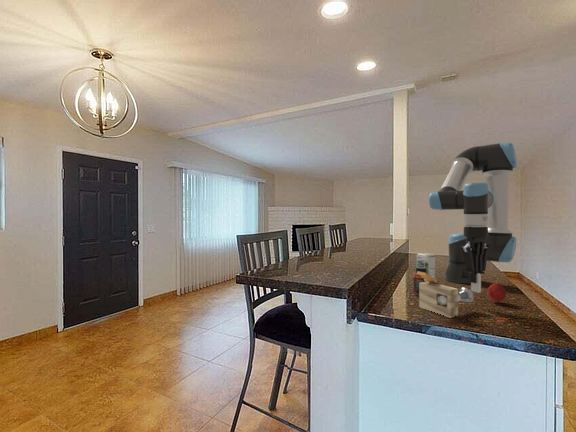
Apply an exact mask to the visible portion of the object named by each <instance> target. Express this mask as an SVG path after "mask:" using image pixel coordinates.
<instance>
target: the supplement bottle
mask: <svg viewBox="0 0 576 432" xmlns="http://www.w3.org/2000/svg"><path fill="white" fill-rule="evenodd" d="M417 271H419V272H424V273H427V272H426V267H417V266H415V271H414V272H413V274H412V276H413V278H412V280H413V281H412V282H413V283H412V284H413V285H412V287H413V288H412V289H413V291H412V292H413V295H415V296H418V297H419V283H421V282H426V281H427V282H429V281H428V280H426V279H424V278H423V277H421V276H420V275H418V274H417ZM427 274H428V273H427ZM428 275H429V274H428Z"/></svg>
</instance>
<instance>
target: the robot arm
mask: <svg viewBox="0 0 576 432" xmlns="http://www.w3.org/2000/svg"><path fill="white" fill-rule="evenodd" d="M517 166H518V162H517V155H516V150H515V147H514V144H513V143H512V142H499V143H493V144H486V145H479V146H478V145H477V146H473V147H470V148H467V149H465V150H462V152H460V153H458V154H457V155H456V156H455V157H454V158H453V160H452V161H451V163H450V169H449V173H447V176H446V178H445V179H444V181H443V183H442V185H441V187H440V189H439V190H438V191H432V192H430V194H429V196H428V204H429V208H431V210H434V211H435V210H437V211H444V210H446V211H447V210H448V211H449V210H463V219H462V221H463V225H464V226H463V232H460V233H452V234H450V235H449V236H448V265H447V268H446V271H445V273H444V279H445V280H446V281H448V282H452V283H454V284H455V283H457V284H462V285H463V284H466V285H469V284H470V290H471V291H472V292H473V293H478V294H479V293H482V275H484V274H485V272H486V269H487V262H492V263H493V262H494V263H495V262H496V263H500V264H501V263H511V262H512V261H513V259H514V256H515V252H516V247H517V237H516V236H514V235H513V232H512V231H511V230H510V229H509V176H511V174H513V173H514V171H513V169H516V168H517ZM480 171H481V173H482V175H483V176H484V177H485V182H469V183H465V182H466V181H467V180H466V179H467V177H468V176H469V175H470V174H471V173H472V172H480ZM462 189H463V190H462Z"/></svg>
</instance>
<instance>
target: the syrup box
mask: <svg viewBox="0 0 576 432" xmlns="http://www.w3.org/2000/svg"><path fill="white" fill-rule="evenodd" d="M416 267H426V272H427V273H428V274H429V275H430V276H431V277H433V278H434V279H436V277H435V276H436V254H433V253H426V252H419V253H416Z"/></svg>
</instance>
